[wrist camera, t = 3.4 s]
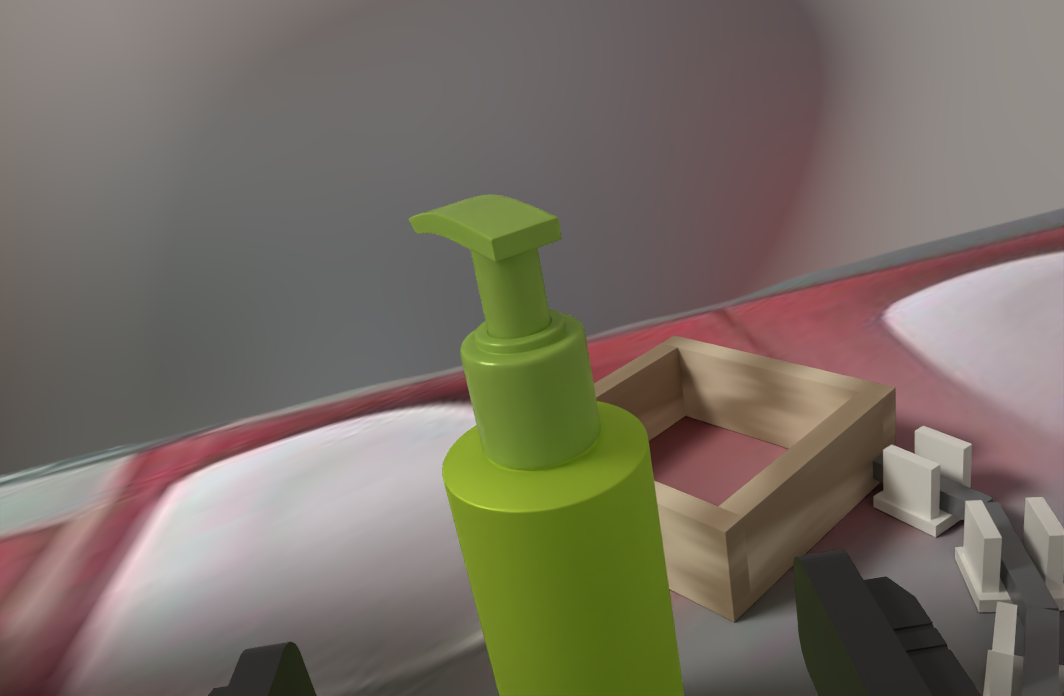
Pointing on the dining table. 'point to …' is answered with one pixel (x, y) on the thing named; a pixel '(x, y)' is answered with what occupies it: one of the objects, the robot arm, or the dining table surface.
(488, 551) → the soap dispenser
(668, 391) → the open square wooden frame
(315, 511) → the dining table surface
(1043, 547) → the cable route
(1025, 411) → the dining table surface
